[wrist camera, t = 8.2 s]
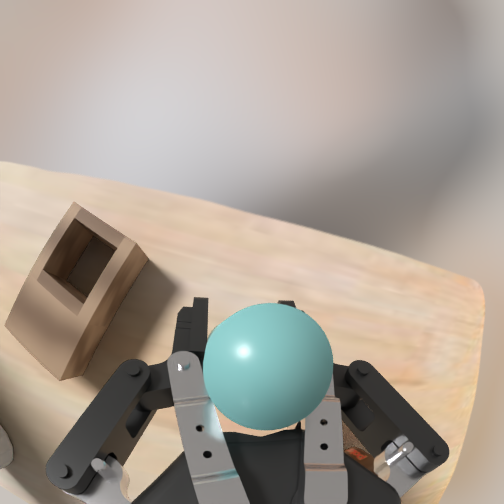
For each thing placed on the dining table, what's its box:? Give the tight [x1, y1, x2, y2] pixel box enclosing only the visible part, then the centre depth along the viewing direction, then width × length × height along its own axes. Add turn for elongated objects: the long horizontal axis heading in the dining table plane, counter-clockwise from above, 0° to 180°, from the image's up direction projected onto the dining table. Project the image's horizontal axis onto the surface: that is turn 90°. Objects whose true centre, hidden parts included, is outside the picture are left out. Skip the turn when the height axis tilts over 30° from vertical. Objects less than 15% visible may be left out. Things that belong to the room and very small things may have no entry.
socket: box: [5, 202, 149, 381], centre depth 23 cm, size 14×8×5 cm, turn 151°
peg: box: [203, 303, 333, 430], centre depth 13 cm, size 4×4×12 cm
